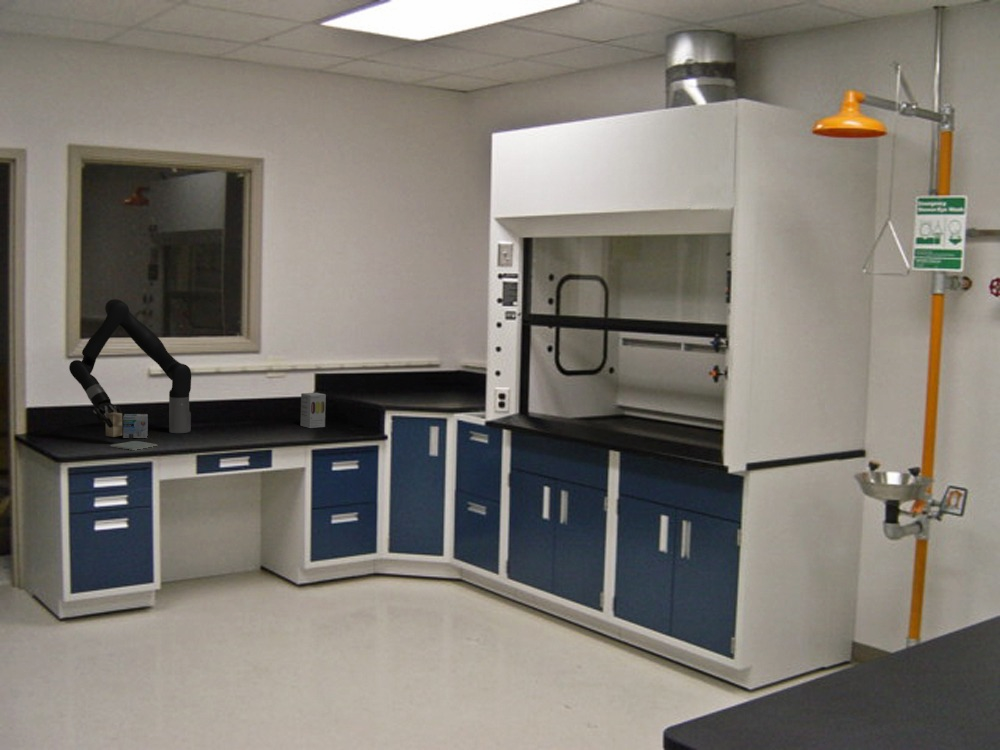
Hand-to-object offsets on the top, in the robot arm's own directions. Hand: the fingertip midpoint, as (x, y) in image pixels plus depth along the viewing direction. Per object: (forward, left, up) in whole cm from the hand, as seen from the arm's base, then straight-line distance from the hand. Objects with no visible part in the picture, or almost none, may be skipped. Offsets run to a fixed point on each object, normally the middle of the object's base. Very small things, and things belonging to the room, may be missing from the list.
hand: (116, 425), depth 483 cm
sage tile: (0, +11, -8) cm, 14 cm away
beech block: (0, -2, -5) cm, 5 cm away
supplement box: (-96, +33, -9) cm, 102 cm away
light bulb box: (-16, -6, -9) cm, 19 cm away
